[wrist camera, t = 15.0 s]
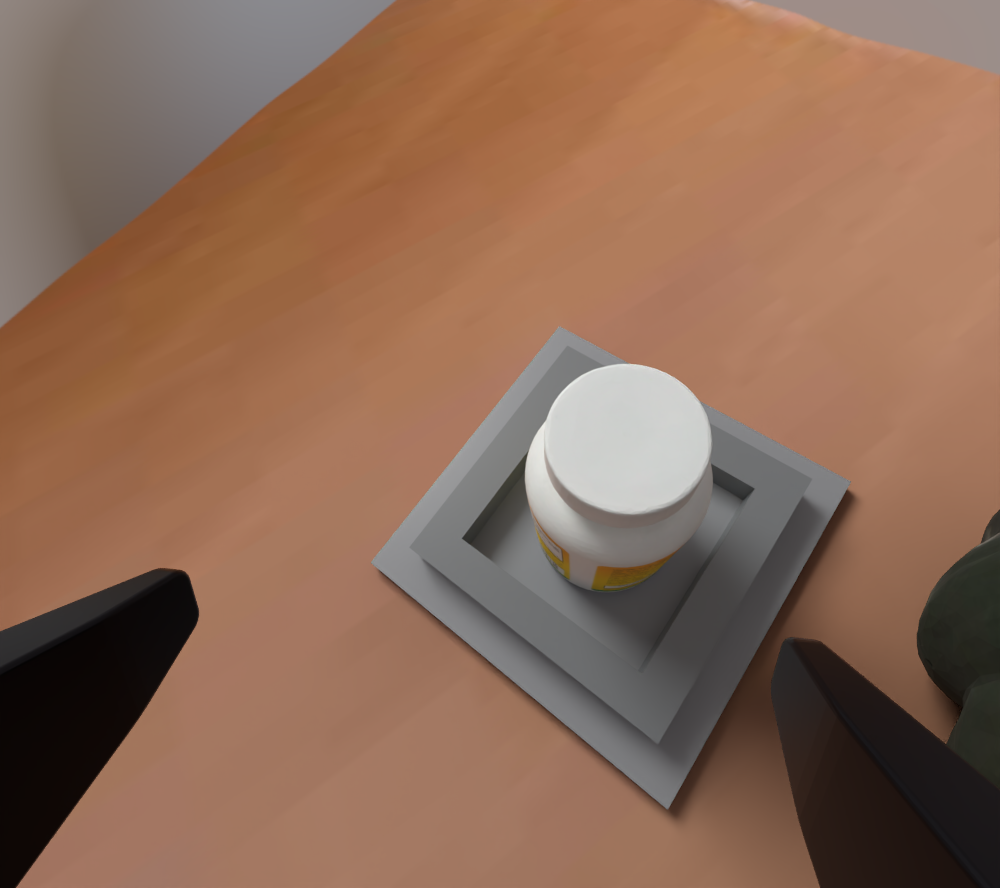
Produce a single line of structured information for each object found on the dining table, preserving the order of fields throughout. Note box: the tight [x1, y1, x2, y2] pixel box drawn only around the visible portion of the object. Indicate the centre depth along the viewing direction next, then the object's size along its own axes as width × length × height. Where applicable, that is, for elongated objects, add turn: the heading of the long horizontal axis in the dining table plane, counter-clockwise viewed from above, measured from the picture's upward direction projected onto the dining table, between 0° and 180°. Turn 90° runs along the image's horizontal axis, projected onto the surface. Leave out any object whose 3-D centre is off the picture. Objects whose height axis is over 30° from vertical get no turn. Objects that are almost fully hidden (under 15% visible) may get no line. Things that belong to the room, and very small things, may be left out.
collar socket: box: [371, 326, 851, 810], centre depth 21 cm, size 14×14×2 cm
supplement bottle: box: [525, 364, 713, 592], centre depth 17 cm, size 5×5×10 cm
